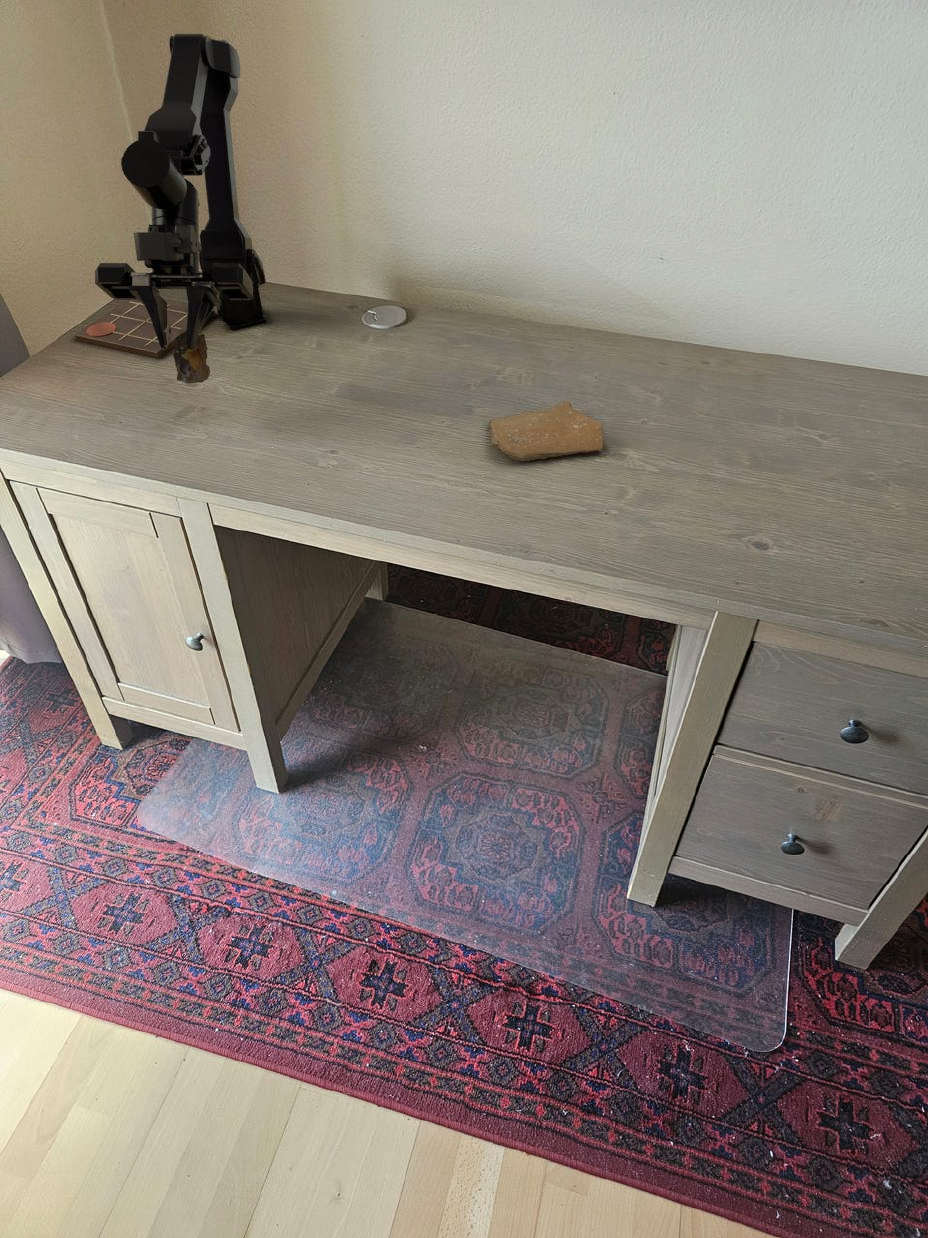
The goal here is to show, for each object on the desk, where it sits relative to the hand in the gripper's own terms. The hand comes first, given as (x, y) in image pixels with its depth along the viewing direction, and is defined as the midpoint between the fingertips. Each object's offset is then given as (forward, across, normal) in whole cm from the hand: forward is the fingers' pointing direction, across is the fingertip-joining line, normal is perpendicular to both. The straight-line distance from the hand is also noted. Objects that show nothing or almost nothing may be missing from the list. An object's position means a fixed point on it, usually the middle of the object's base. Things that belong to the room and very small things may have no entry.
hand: (176, 348), depth 108 cm
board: (-13, -15, +31) cm, 37 cm away
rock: (+4, 0, +6) cm, 7 cm away
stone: (+10, +48, +8) cm, 50 cm away
